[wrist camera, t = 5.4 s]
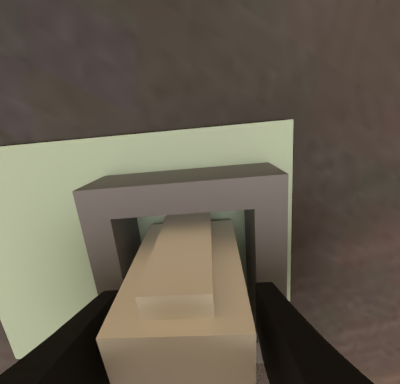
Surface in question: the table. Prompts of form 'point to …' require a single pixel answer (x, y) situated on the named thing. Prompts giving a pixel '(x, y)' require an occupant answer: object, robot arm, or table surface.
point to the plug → (182, 309)
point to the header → (133, 213)
